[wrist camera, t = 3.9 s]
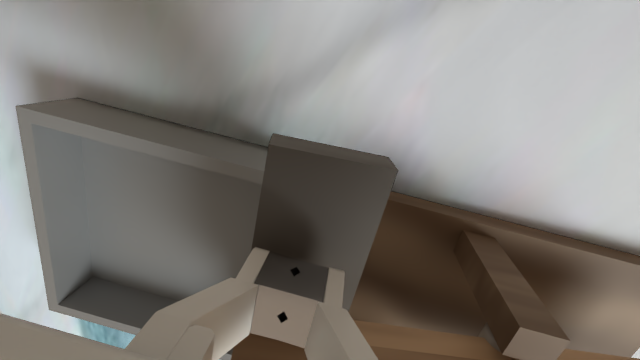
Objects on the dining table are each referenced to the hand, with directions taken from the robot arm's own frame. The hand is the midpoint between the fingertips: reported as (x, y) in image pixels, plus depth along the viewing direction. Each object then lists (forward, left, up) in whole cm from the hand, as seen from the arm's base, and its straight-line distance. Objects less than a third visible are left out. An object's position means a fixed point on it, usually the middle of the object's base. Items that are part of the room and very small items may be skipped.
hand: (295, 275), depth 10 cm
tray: (+8, -10, -11) cm, 17 cm away
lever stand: (+8, +10, -11) cm, 17 cm away
